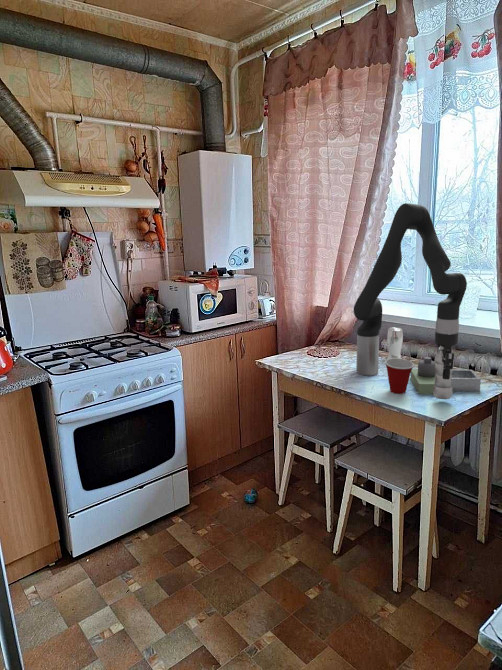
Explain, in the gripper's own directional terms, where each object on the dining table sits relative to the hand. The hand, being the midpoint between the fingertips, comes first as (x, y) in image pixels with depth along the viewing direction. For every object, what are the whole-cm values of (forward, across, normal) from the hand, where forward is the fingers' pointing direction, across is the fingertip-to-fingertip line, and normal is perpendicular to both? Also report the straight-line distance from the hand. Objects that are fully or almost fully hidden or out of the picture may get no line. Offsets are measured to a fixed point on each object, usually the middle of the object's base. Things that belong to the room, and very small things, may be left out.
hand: (443, 375), depth 165 cm
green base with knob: (+10, -17, -1) cm, 20 cm away
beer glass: (+11, -52, -10) cm, 54 cm away
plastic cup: (+11, -10, -14) cm, 20 cm away
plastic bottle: (+9, 0, 0) cm, 9 cm away
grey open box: (+10, -17, +10) cm, 22 cm away
